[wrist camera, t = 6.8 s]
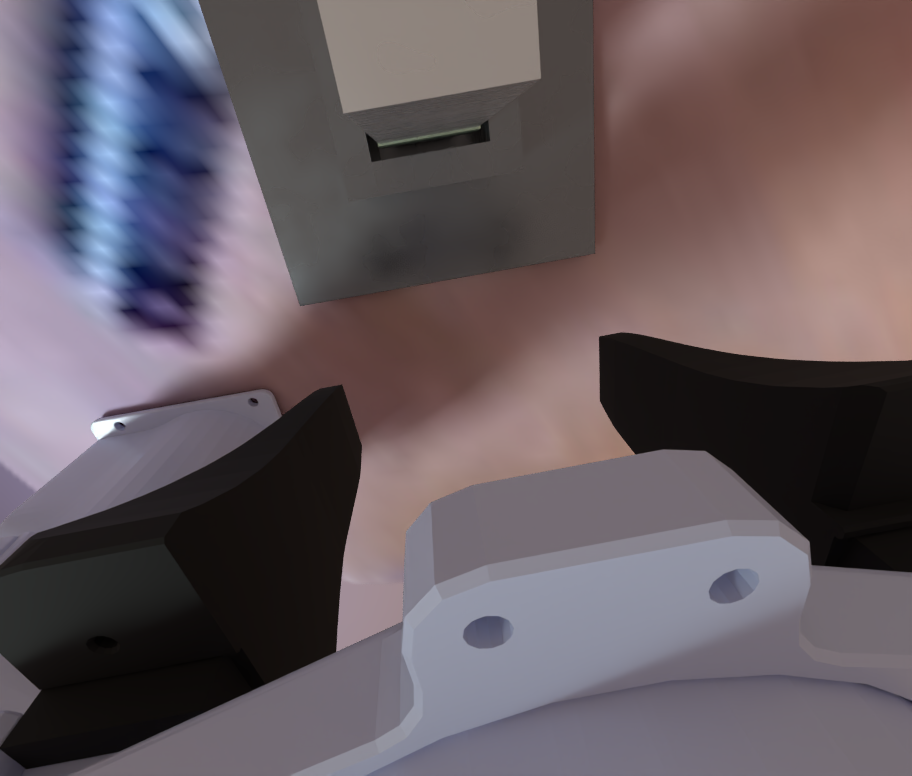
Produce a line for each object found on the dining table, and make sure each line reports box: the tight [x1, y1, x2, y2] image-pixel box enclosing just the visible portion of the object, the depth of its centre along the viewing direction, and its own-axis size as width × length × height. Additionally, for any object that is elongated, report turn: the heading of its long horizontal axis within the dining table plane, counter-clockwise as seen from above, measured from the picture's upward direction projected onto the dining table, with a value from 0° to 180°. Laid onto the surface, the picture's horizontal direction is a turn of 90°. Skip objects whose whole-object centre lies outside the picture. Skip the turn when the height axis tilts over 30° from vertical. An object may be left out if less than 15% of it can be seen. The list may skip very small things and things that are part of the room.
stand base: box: [198, 0, 595, 306], centre depth 15 cm, size 14×14×6 cm
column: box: [317, 0, 541, 149], centre depth 10 cm, size 3×3×10 cm
